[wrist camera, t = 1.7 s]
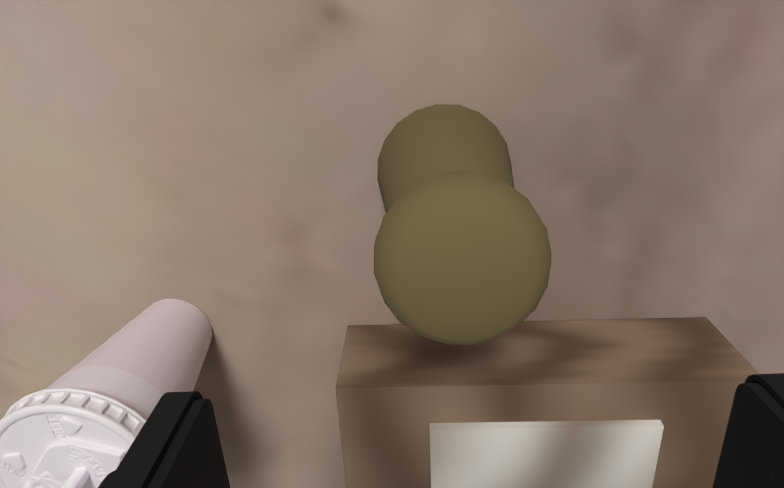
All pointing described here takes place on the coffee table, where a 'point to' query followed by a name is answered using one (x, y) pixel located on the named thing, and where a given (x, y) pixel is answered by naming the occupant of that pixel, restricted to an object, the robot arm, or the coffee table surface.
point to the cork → (456, 230)
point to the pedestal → (539, 406)
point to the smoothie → (103, 401)
